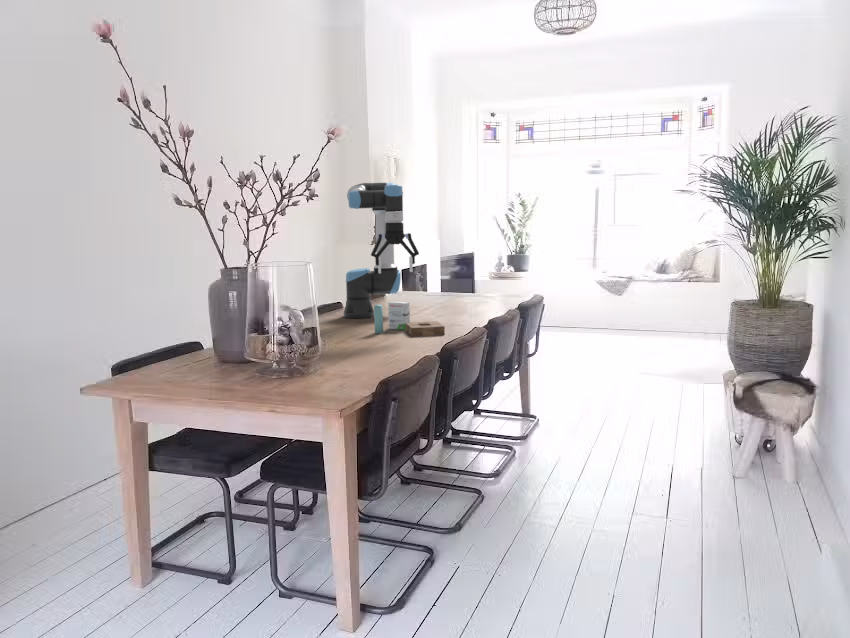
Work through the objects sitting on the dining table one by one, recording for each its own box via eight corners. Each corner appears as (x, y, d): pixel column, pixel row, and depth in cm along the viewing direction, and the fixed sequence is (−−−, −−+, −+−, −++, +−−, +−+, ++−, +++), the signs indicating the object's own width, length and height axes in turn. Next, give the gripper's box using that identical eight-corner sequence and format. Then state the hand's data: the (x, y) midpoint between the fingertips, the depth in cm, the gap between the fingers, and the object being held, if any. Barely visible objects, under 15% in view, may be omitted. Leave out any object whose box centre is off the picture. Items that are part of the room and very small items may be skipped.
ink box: (410, 328, 312) (410, 302, 310) (405, 330, 308) (404, 303, 306) (394, 327, 317) (393, 301, 315) (388, 328, 312) (387, 302, 310)
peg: (374, 332, 304) (373, 304, 302) (382, 332, 304) (381, 304, 302) (375, 333, 300) (374, 306, 298) (383, 333, 301) (383, 305, 299)
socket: (405, 330, 307) (405, 322, 306) (437, 329, 309) (437, 321, 309) (411, 336, 293) (411, 328, 292) (444, 334, 296) (444, 326, 295)
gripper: (366, 222, 290) (367, 274, 293) (425, 221, 295) (426, 272, 298) (363, 222, 297) (365, 272, 300) (421, 221, 302) (422, 270, 306)
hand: (395, 272), depth 299 cm, fingers open, 13 cm apart
